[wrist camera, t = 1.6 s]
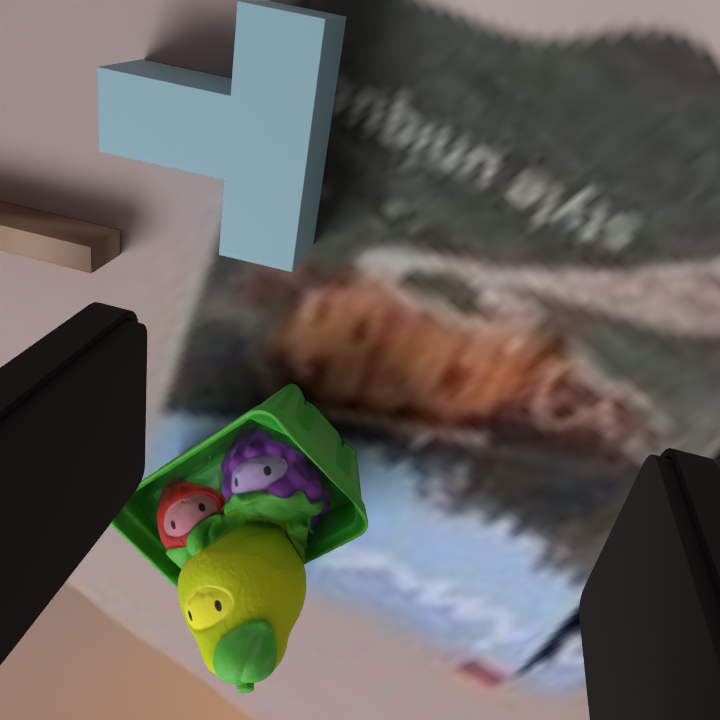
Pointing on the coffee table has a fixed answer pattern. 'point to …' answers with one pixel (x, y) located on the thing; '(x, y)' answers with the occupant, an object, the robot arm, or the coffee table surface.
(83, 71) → the coffee table surface
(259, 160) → the t block
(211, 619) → the fruit basket
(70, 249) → the u-shaped wooden frame
